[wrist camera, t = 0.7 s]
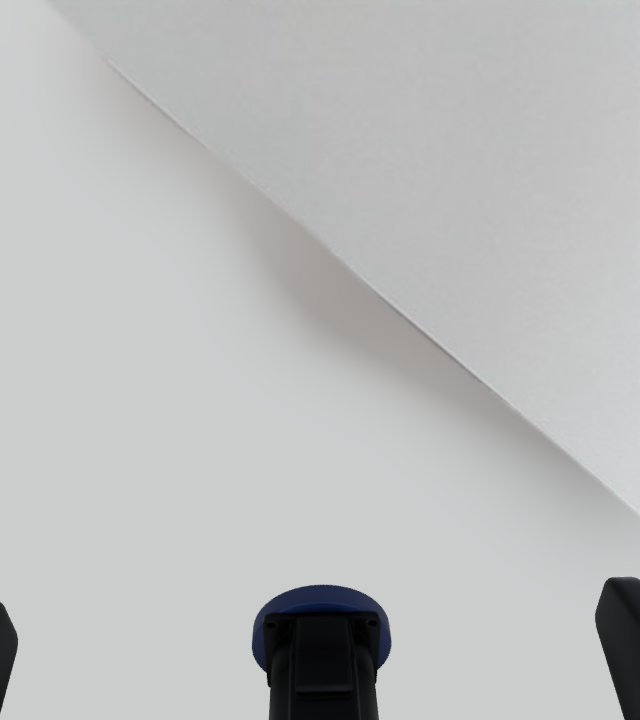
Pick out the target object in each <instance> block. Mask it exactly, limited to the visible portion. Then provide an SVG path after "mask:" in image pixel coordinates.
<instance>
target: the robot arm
mask: <svg viewBox="0 0 640 720" xmlns="http://www.w3.org/2000/svg"><path fill="white" fill-rule="evenodd" d="M595 622H596V627H597V631H598V634H599V638H600V641H601V644H602V648H603V651H604V654H605V657H606V660H607V664H608V667H609V670H610V674H611V677H612V680H613V683H614V687H615V690H616V693H617V697H618V700H619V703H620V706H621V710H622V713H623V716H624V719H625V720H640V580H639V579H637V578H634V577H612V578H609V579H608V580H607V581H606V582H605V584H604V587H603V590H602V593H601V596H600V599H599V603H598V606H597V609H596V613H595ZM380 631H381V618H380V614H379V613H378V612H375V611H353V612H305V613H270V614H267V615H265V616H264V617H263V636H264V649H265V661H266V673H267V685H268V687H270V688H271V689H270V710H269V720H379V718H378V708H377V699H376V689H375V684H376V681H377V670H378V657H379V644H380ZM17 647H18V638H17V633H16V630H15V628H14V626H13V624H12V622H11V620H10V617H9V616H8V613H7V611H6V609H5V607H4V605H3V604H2V603H1V602H0V712H1V708H2V705H3V701H4V697H5V694H6V689H7V686H8V682H9V679H10V675H11V671H12V667H13V664H14V660H15V656H16V653H17Z"/></svg>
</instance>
